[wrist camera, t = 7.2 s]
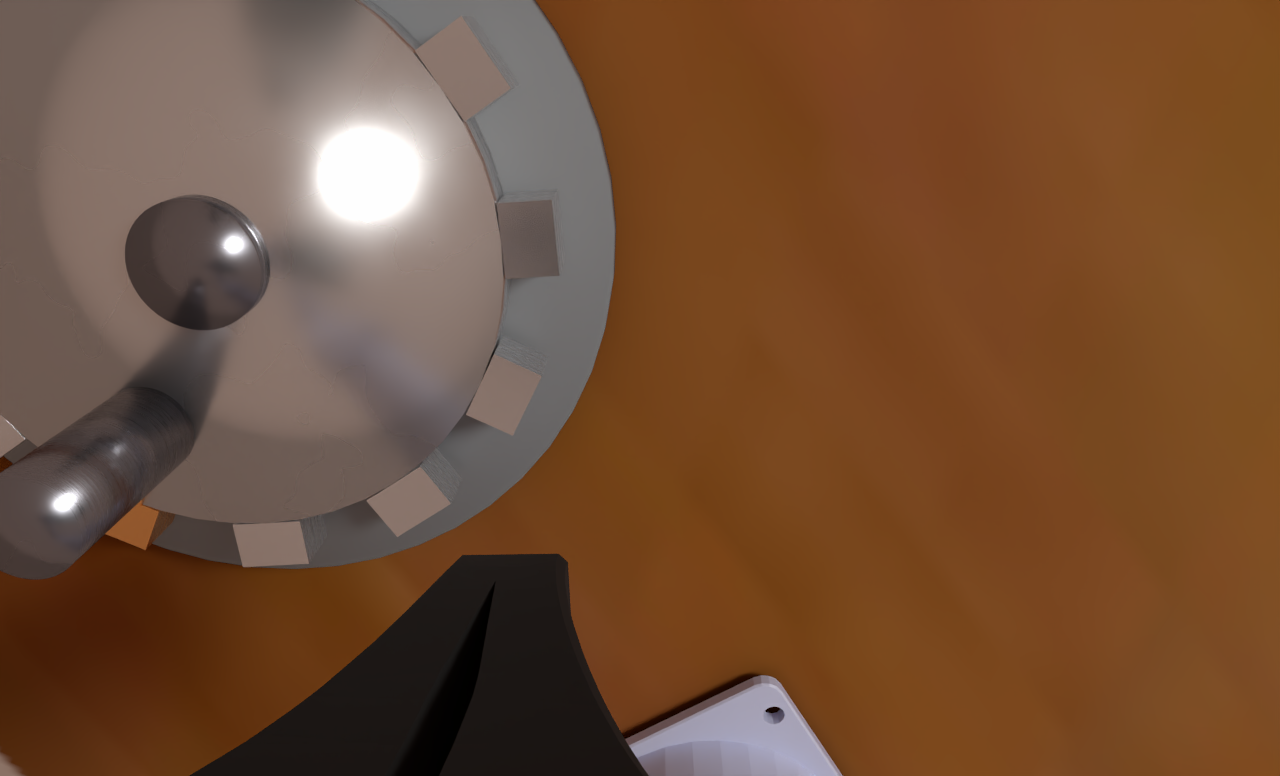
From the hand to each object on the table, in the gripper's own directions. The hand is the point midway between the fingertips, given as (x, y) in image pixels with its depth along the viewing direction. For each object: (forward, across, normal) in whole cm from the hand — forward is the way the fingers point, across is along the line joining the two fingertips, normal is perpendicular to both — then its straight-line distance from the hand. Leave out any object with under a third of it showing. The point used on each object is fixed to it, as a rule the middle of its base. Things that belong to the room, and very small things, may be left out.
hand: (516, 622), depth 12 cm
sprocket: (+8, +6, -3) cm, 11 cm away
